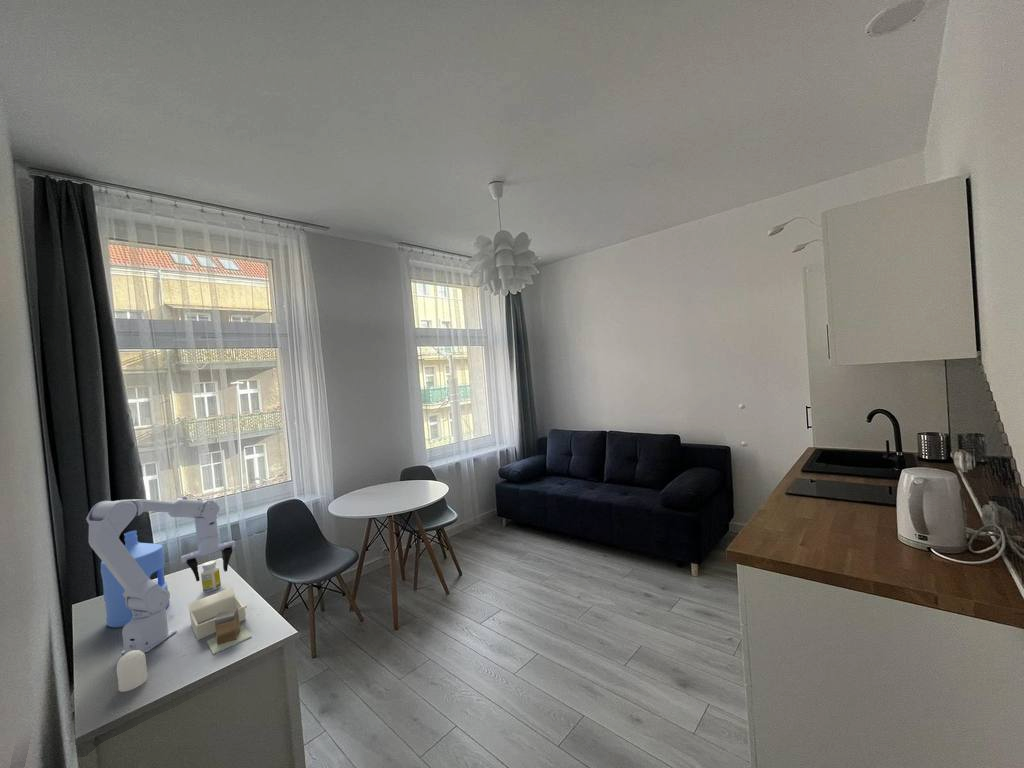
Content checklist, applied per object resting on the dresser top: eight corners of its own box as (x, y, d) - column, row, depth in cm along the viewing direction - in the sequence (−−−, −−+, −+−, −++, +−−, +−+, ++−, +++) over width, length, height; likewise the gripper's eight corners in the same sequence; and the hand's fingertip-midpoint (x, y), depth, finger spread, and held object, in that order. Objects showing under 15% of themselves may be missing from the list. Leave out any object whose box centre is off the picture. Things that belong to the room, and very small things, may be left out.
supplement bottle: (218, 583, 154) (215, 558, 154) (223, 587, 150) (220, 561, 150) (201, 590, 149) (198, 564, 149) (205, 594, 146) (202, 567, 146)
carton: (248, 623, 123) (246, 605, 123) (200, 645, 115) (197, 625, 115) (234, 603, 137) (232, 587, 137) (189, 621, 128) (187, 603, 128)
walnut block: (236, 639, 115) (233, 615, 115) (217, 645, 113) (214, 620, 113) (240, 631, 119) (237, 607, 119) (222, 636, 117) (219, 612, 117)
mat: (251, 637, 116) (251, 635, 116) (213, 654, 109) (213, 653, 109) (243, 626, 122) (243, 624, 122) (207, 642, 116) (206, 640, 116)
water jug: (111, 634, 125) (101, 545, 125) (103, 620, 135) (93, 537, 134) (175, 608, 138) (166, 527, 137) (163, 597, 147) (154, 521, 147)
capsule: (122, 682, 102) (119, 651, 102) (150, 672, 105) (146, 642, 105) (115, 695, 97) (111, 662, 97) (144, 684, 100) (141, 653, 100)
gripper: (230, 526, 144) (234, 563, 145) (178, 540, 134) (182, 581, 134) (234, 530, 140) (239, 568, 140) (181, 545, 129) (186, 587, 129)
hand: (211, 575), depth 137 cm, fingers open, 7 cm apart
